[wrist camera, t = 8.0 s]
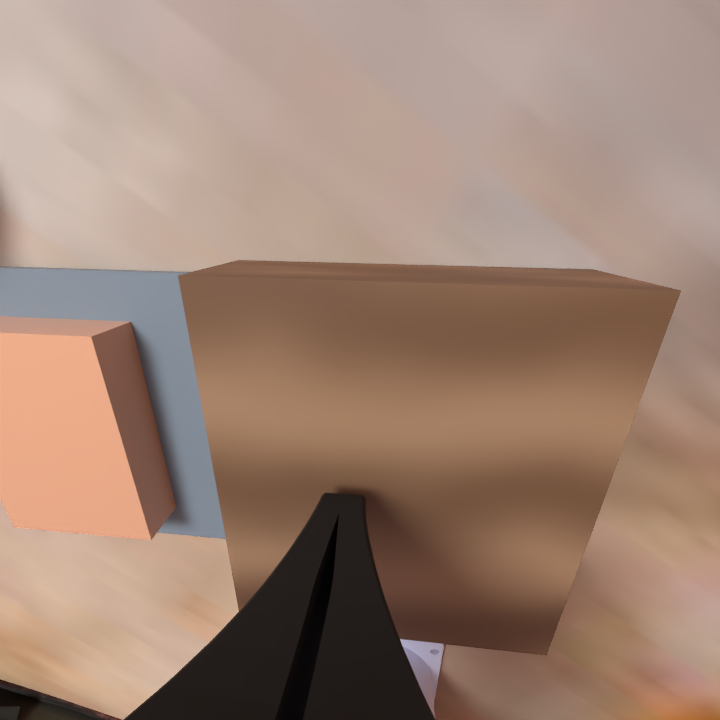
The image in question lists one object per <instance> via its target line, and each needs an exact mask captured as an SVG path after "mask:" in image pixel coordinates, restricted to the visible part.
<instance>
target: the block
mask: <svg viewBox="0 0 720 720" xmlns="http://www.w3.org/2000/svg"><path fill="white" fill-rule="evenodd" d="M0 500H1V502H2V504H3V506H4V508H5V510H6V512H7V514H8V516H9V518H10V520H11V522H12V524H13V526H14V527H18V528H28V529H39V530H50V531H60V532H71V533H82V534H92V535H103V536H114V537H125V538H135V539H146V540H152V538H153V537H154V536H155V534H156V533H157V532H158V530H159V529H160V528H161V526H162V525H163V524H164V523H165V521H166V520H167V519H168V517H169V516H170V515H171V513H172V512H173V511H174V509H175V508H176V504H175V500H174V496H173V492H172V488H171V484H170V479H169V475H168V471H167V467H166V463H165V459H164V455H163V451H162V447H161V443H160V439H159V435H158V431H157V426H156V422H155V418H154V414H153V410H152V406H151V402H150V398H149V394H148V390H147V386H146V382H145V378H144V373H143V369H142V365H141V361H140V357H139V353H138V349H137V345H136V341H135V337H134V333H133V329H132V325H131V322H127V321H103V320H80V319H56V318H32V317H8V316H0Z"/></svg>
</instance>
